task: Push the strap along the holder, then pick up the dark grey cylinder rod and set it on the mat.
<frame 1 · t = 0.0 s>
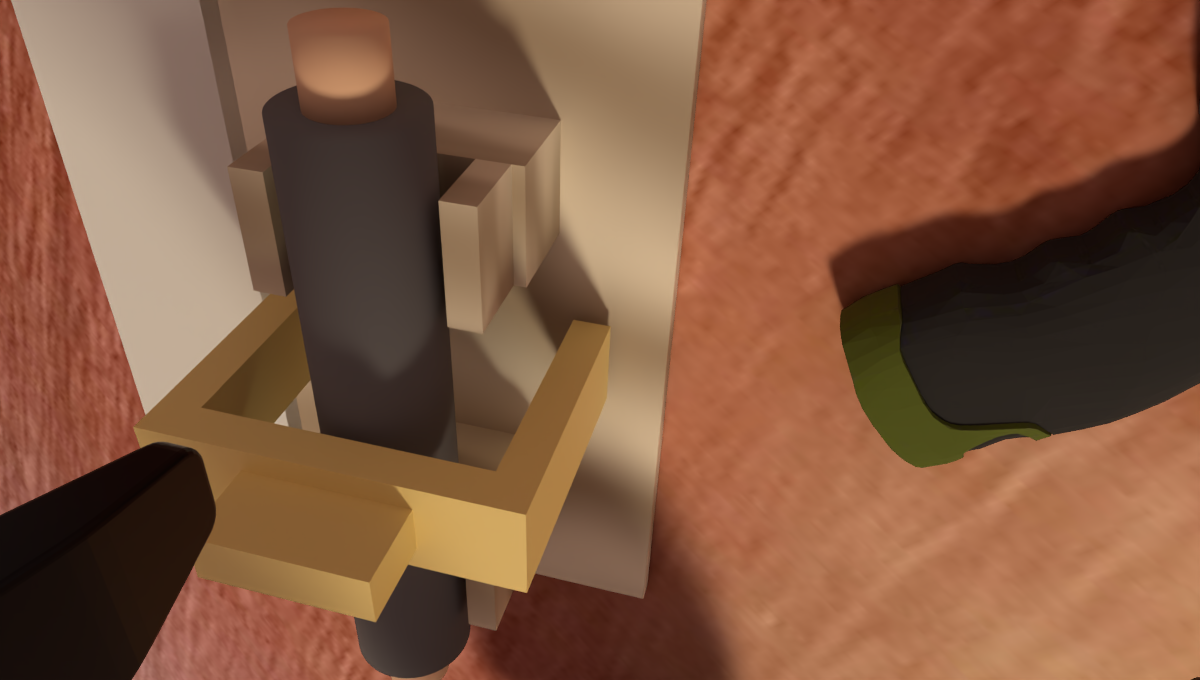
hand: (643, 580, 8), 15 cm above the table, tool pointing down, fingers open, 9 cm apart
holder: (462, 315, 26), on the table
strap: (378, 437, 22), point 5 cm above the table, slide at 0.0 cm
mat: (195, 266, 28), on the table
dark grey cylinder rod: (388, 422, 23), point 5 cm above the table, touching holder
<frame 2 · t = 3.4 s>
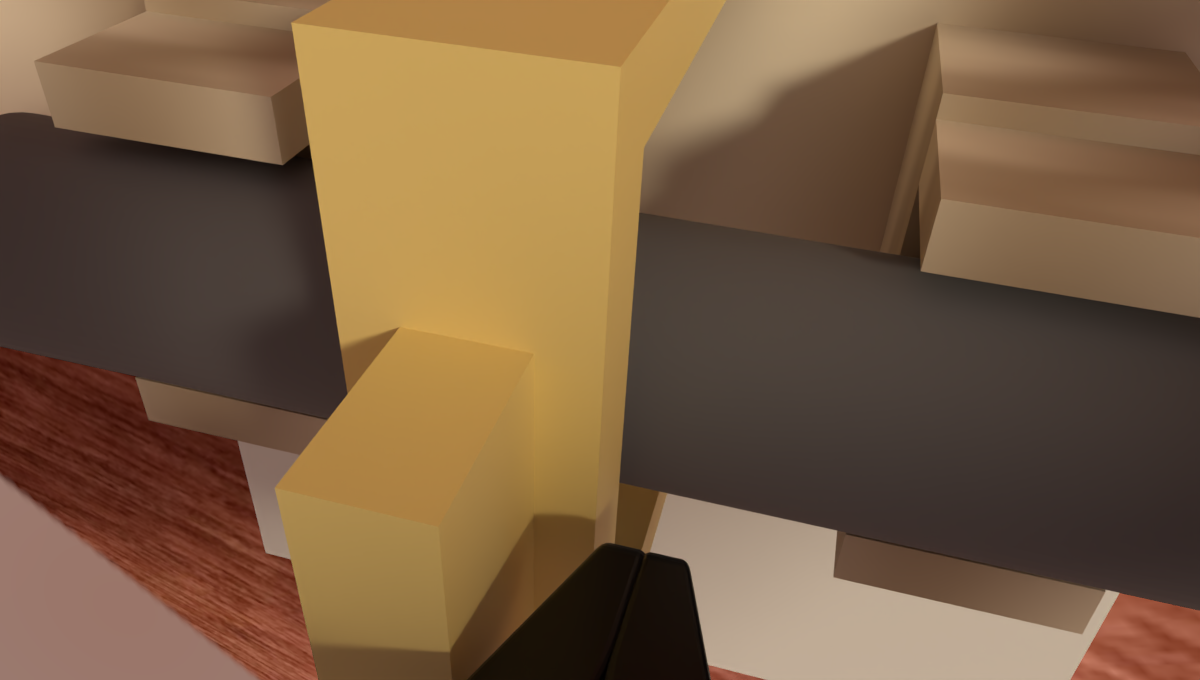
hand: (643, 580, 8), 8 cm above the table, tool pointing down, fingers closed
holder: (665, 172, 15), on the table
strap: (551, 360, 11), point 5 cm above the table, slide at 0.3 cm, touching gripper
mat: (633, 533, 20), on the table
dark grey cylinder rod: (585, 338, 11), point 5 cm above the table, touching holder
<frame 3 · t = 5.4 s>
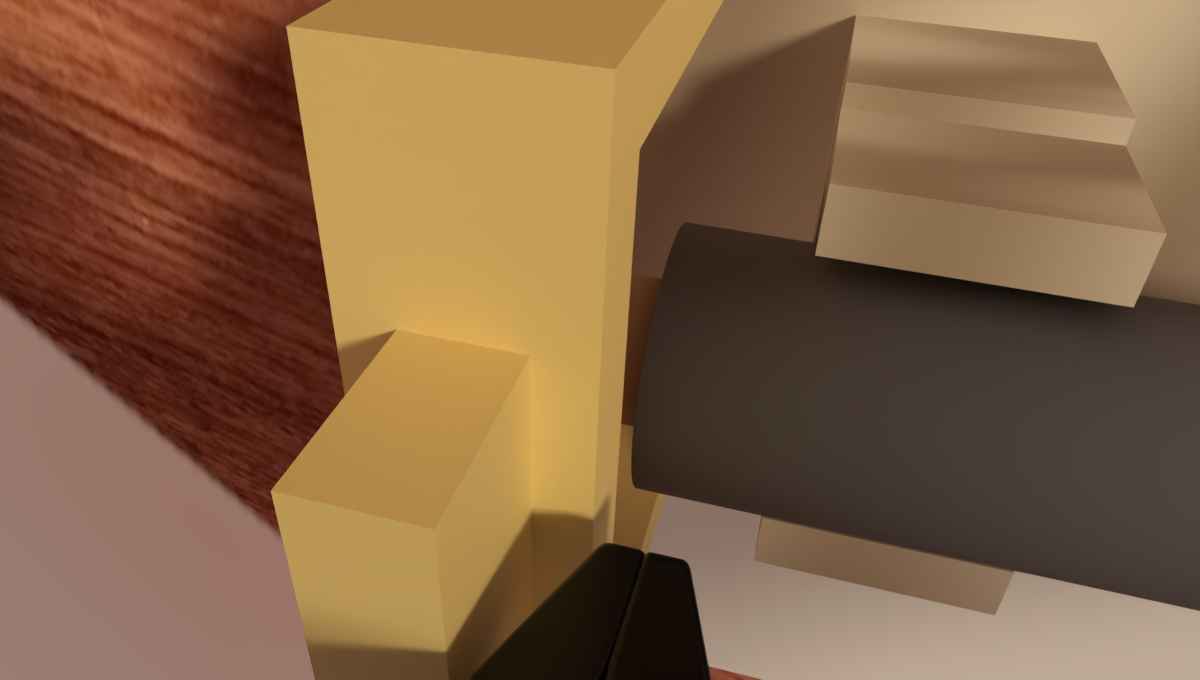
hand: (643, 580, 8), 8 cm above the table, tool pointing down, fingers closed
strap: (548, 362, 11), point 5 cm above the table, slide at 9.3 cm, touching gripper
mat: (1076, 635, 18), on the table
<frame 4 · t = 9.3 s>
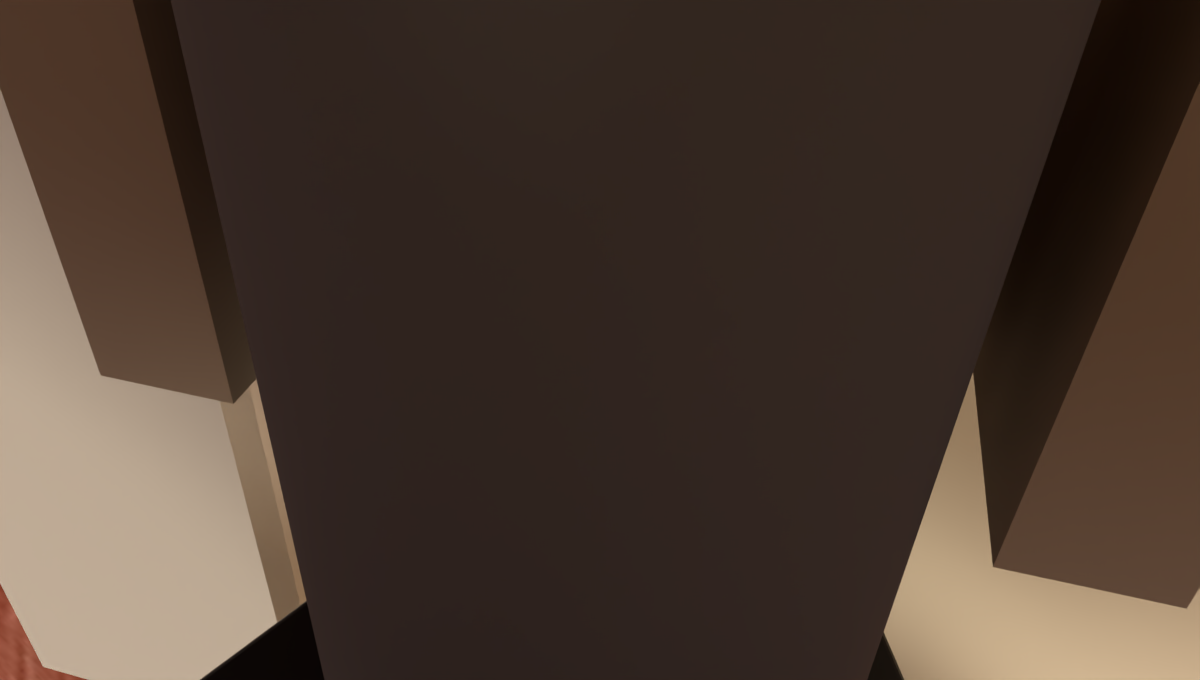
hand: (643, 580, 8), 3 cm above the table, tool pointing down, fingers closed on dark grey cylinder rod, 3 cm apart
holder: (697, 392, 11), on the table
mat: (58, 269, 12), on the table
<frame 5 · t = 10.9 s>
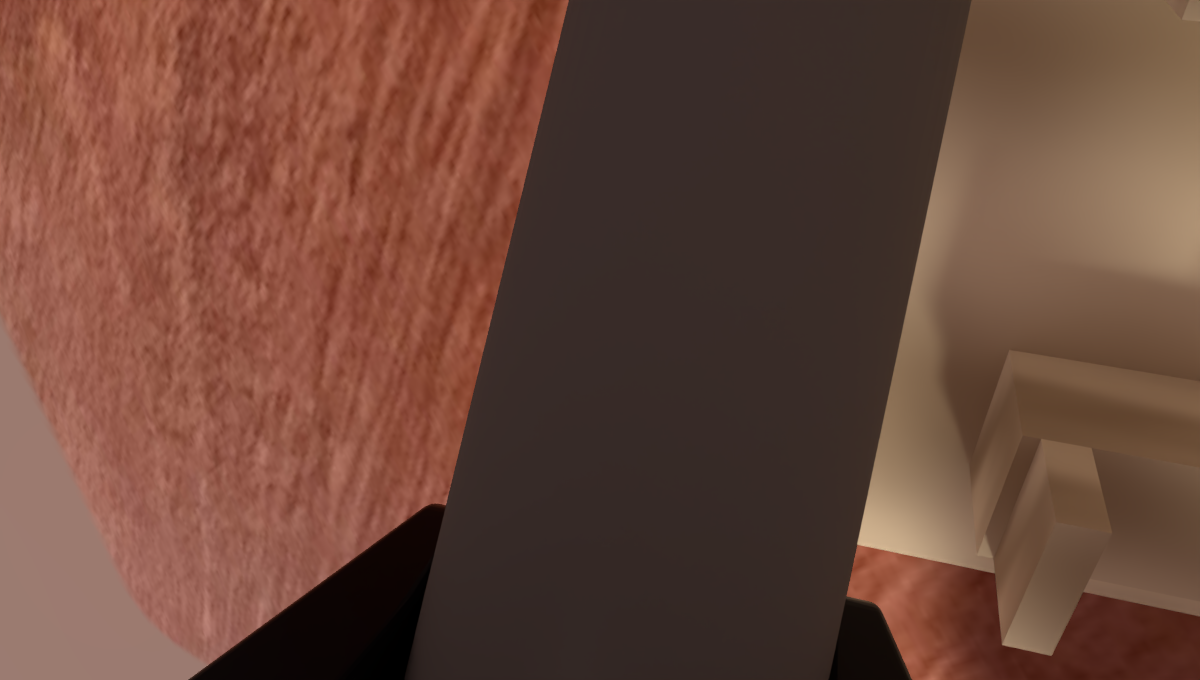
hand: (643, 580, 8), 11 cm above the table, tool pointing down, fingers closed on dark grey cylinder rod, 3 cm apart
dark grey cylinder rod: (613, 675, 7), point 12 cm above the table, tilted 41°, touching gripper
when the fingers open (2 cm above the table, at t = 12.9 s): dark grey cylinder rod drops 2 cm, resting on mat.
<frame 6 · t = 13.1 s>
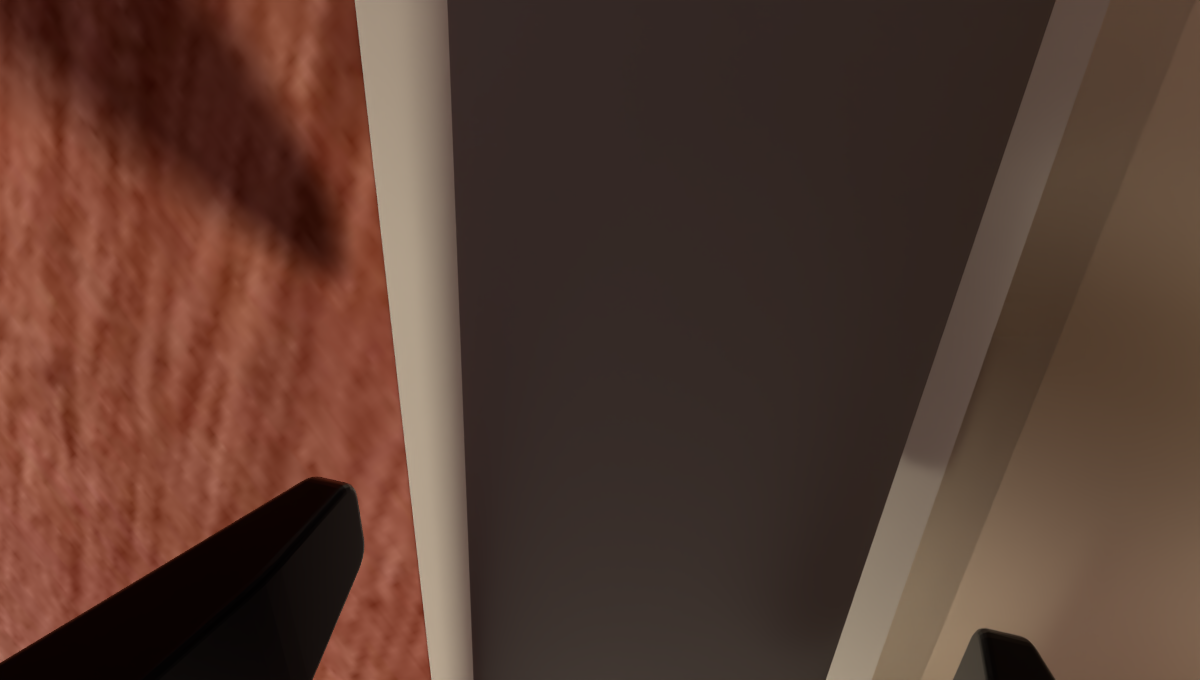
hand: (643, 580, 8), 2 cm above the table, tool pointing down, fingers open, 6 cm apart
mat: (684, 435, 10), on the table
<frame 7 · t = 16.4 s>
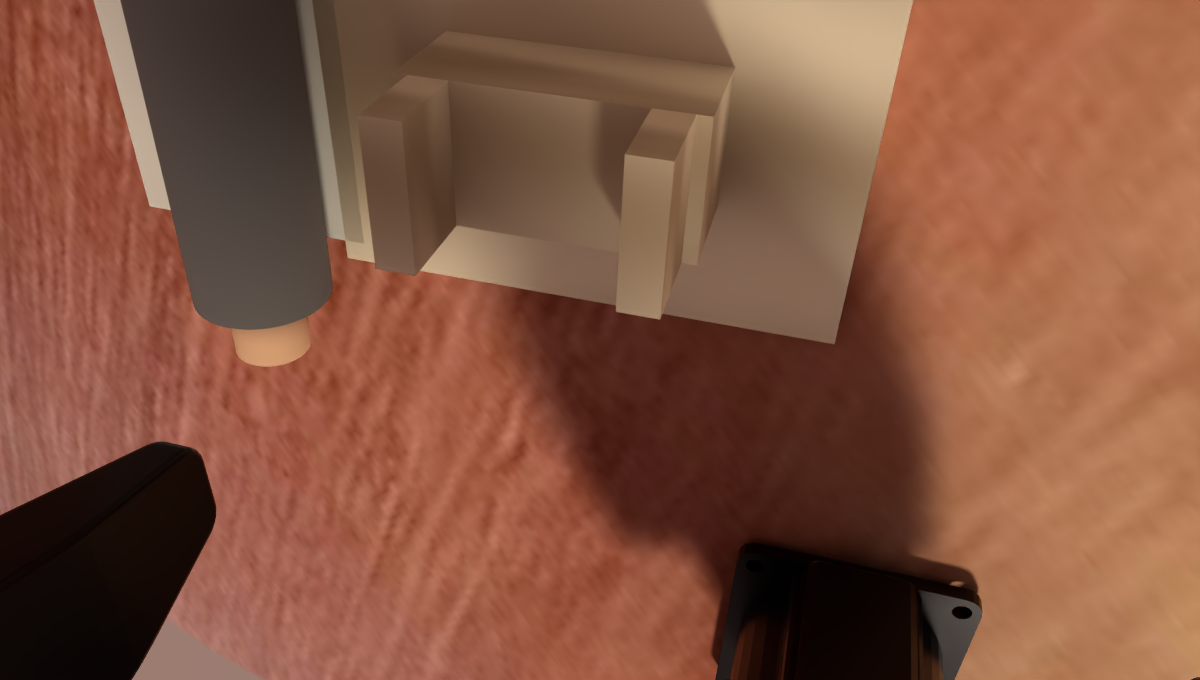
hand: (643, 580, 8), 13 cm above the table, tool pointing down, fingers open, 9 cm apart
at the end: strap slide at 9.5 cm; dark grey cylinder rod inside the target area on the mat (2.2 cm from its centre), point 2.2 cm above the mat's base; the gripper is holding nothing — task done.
